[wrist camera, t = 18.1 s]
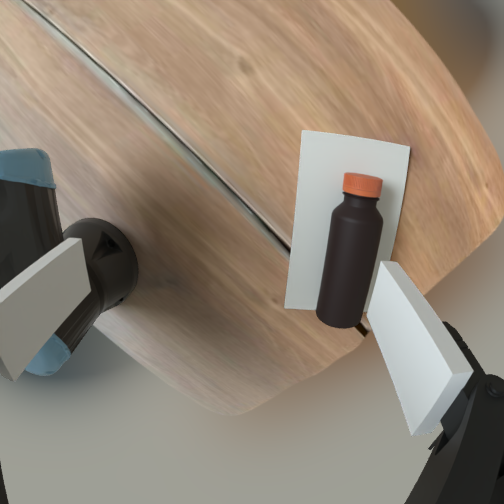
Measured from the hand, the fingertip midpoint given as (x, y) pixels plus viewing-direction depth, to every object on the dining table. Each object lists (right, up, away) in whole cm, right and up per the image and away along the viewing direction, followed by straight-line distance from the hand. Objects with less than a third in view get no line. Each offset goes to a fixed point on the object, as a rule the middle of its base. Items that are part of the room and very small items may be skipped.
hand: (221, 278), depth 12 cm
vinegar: (+14, -8, +30) cm, 34 cm away
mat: (+14, +4, +29) cm, 32 cm away
